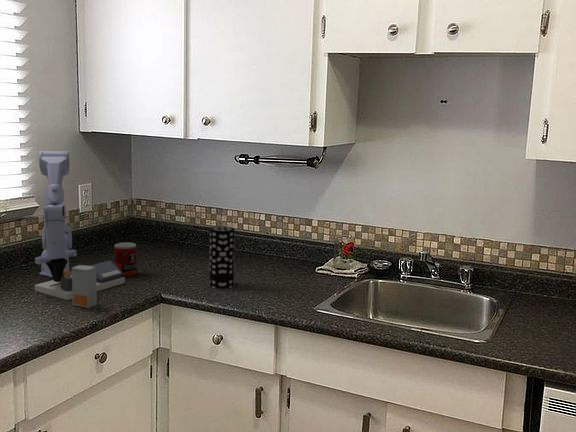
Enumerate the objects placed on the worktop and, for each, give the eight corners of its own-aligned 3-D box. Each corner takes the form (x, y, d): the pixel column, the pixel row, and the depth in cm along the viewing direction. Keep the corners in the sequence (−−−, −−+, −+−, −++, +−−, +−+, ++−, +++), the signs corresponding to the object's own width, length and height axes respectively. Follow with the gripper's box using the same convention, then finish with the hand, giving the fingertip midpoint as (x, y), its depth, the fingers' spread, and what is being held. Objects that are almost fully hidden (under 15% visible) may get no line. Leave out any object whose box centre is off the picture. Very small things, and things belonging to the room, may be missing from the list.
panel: (34, 290, 202) (34, 279, 201) (93, 275, 222) (92, 264, 221) (67, 300, 193) (67, 288, 193) (125, 282, 214) (124, 272, 213)
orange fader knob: (57, 281, 205) (57, 270, 204) (63, 279, 207) (63, 269, 206) (64, 282, 203) (64, 272, 202) (70, 281, 205) (70, 270, 205)
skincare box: (72, 305, 188) (70, 267, 186) (81, 301, 192) (80, 264, 190) (88, 308, 186) (87, 270, 184) (97, 304, 190) (96, 266, 188)
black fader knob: (60, 288, 197) (60, 277, 197) (67, 286, 199) (67, 275, 199) (68, 290, 195) (67, 279, 195) (74, 288, 197) (74, 277, 197)
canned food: (124, 278, 219) (123, 248, 217) (110, 274, 224) (109, 244, 222) (141, 274, 225) (141, 244, 223) (127, 270, 230) (126, 241, 228)
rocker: (88, 268, 209) (89, 265, 208) (108, 263, 217) (110, 260, 216) (100, 281, 207) (102, 278, 206) (121, 275, 214) (122, 272, 213)
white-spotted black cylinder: (220, 280, 220) (221, 225, 216) (238, 285, 215) (239, 228, 212) (204, 285, 213) (204, 228, 210) (222, 290, 209) (223, 232, 205)
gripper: (44, 246, 192) (46, 288, 195) (82, 238, 204) (83, 278, 207) (30, 243, 196) (31, 284, 198) (68, 235, 208) (69, 274, 210)
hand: (57, 281), depth 203 cm, fingers closed
